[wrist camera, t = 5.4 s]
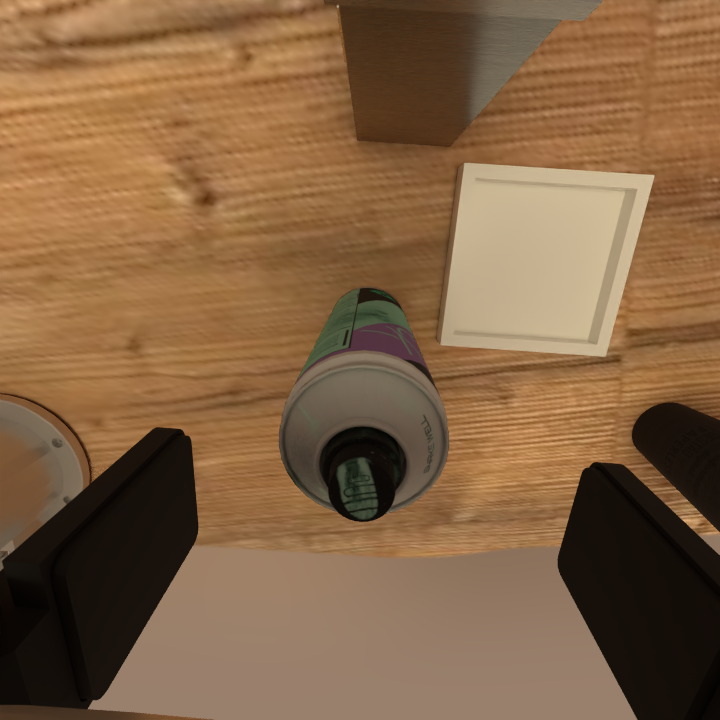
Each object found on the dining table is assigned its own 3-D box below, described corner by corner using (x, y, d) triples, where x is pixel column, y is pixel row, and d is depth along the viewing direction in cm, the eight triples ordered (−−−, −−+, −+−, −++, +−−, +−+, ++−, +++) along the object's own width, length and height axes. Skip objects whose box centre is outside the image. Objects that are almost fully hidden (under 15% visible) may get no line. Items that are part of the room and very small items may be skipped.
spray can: (365, 372, 30) (358, 612, 11) (315, 321, 29) (207, 489, 10) (419, 324, 29) (518, 501, 10) (369, 270, 27) (366, 346, 8)
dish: (591, 349, 29) (605, 356, 27) (436, 338, 29) (440, 345, 27) (635, 179, 25) (654, 175, 24) (458, 167, 25) (464, 162, 24)
